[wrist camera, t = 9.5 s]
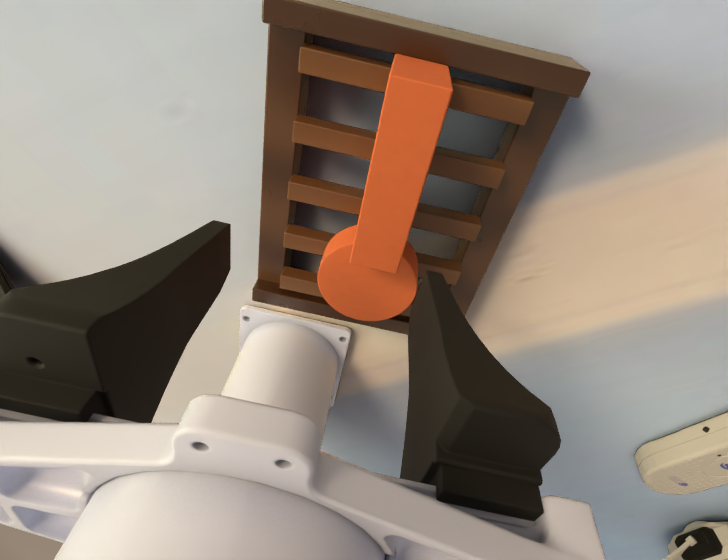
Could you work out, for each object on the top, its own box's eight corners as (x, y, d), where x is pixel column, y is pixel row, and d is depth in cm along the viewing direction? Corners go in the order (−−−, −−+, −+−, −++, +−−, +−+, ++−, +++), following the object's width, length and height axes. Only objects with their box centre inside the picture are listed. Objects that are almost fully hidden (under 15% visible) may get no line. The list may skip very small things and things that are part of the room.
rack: (454, 315, 29) (457, 346, 26) (265, 273, 28) (251, 301, 26) (572, 57, 19) (592, 72, 16) (281, -13, 18) (262, -8, 16)
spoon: (358, 43, 17) (344, 63, 14) (485, 74, 17) (497, 99, 14) (318, 289, 25) (304, 333, 22) (404, 308, 25) (402, 354, 22)
